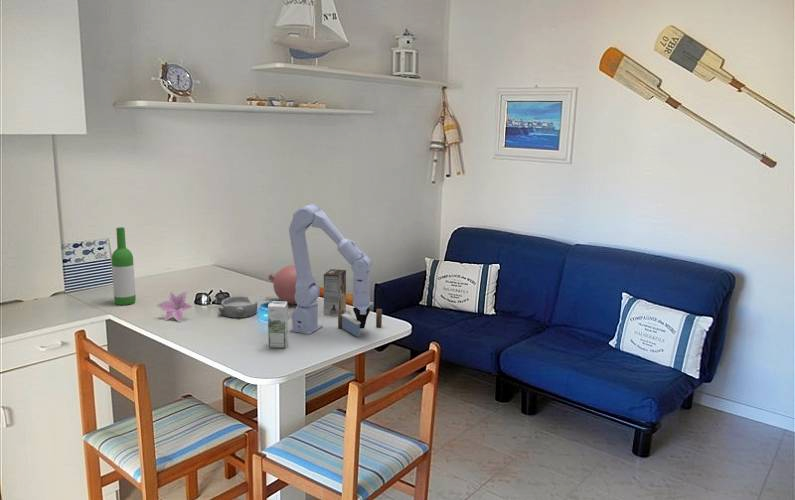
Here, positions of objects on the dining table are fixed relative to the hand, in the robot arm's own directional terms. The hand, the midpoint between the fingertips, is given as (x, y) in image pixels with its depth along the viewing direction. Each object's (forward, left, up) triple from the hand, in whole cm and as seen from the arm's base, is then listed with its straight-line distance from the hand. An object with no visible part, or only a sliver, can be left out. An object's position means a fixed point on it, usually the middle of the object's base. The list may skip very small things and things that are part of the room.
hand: (361, 328), depth 224 cm
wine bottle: (-9, +98, -2) cm, 99 cm away
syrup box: (-23, +19, -2) cm, 30 cm away
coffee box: (+17, +19, -2) cm, 26 cm away
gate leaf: (-1, +3, -1) cm, 4 cm away
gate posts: (+6, +3, -2) cm, 7 cm away
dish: (0, +51, -2) cm, 51 cm away
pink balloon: (+21, +42, -2) cm, 48 cm away
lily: (-15, +68, -2) cm, 70 cm away
